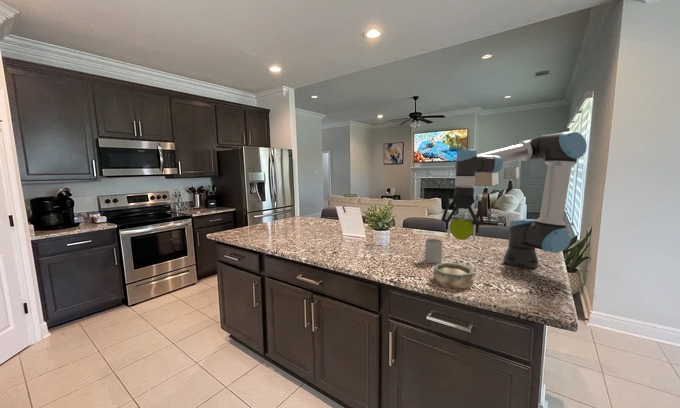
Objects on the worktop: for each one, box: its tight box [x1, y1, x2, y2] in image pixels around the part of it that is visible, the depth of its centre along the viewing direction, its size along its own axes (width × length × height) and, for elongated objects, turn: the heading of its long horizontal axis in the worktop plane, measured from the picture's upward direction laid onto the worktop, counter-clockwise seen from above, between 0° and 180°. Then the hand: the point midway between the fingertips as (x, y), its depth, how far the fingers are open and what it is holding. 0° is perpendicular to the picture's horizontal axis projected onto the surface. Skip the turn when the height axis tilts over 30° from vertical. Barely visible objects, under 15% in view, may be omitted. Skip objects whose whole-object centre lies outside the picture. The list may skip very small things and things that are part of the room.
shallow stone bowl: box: [432, 262, 474, 290], centre depth 124 cm, size 16×16×6 cm
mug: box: [424, 238, 443, 264], centre depth 152 cm, size 12×8×11 cm
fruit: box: [450, 216, 475, 241], centre depth 122 cm, size 9×9×10 cm
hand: (460, 238), depth 123 cm, fingers closed on fruit, 9 cm apart
